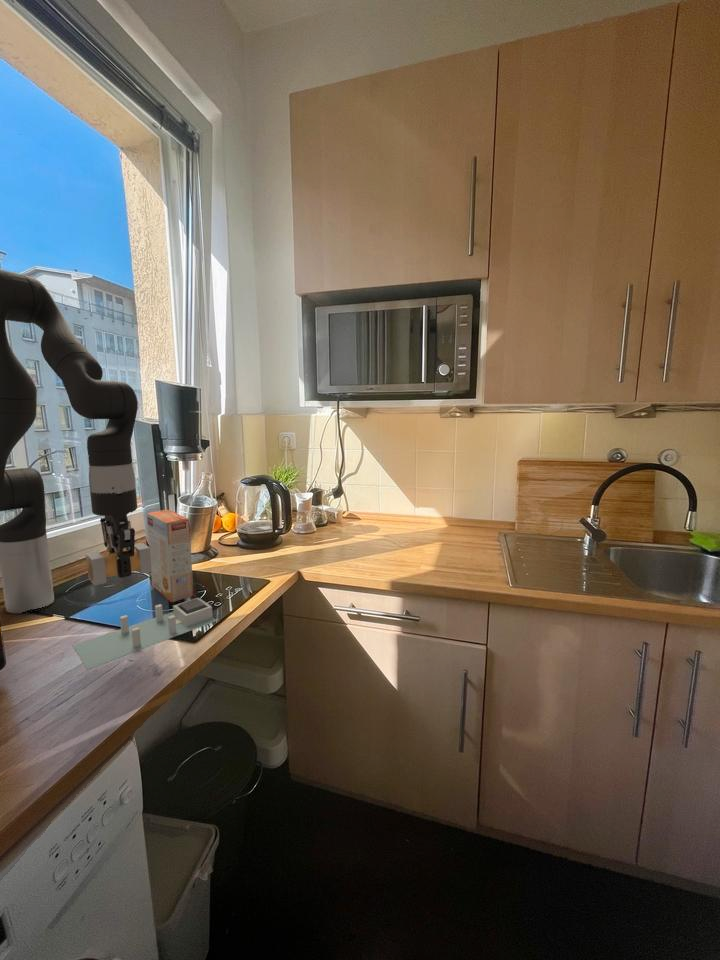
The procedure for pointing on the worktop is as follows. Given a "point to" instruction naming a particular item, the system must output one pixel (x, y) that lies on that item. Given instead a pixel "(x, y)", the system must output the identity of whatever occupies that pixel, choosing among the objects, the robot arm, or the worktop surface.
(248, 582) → the worktop surface
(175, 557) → the cracker box
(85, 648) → the board
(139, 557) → the tan and white bar
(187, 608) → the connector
